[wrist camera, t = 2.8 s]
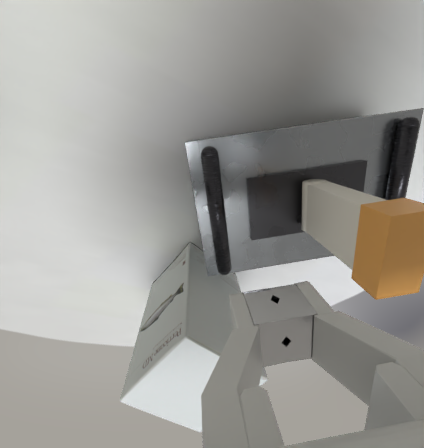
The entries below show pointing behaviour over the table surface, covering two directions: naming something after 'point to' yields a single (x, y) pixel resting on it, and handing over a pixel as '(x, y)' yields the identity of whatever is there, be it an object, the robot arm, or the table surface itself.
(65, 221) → the table surface
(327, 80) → the table surface
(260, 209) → the box
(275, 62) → the table surface
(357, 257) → the lever
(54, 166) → the table surface
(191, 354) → the supplement box
